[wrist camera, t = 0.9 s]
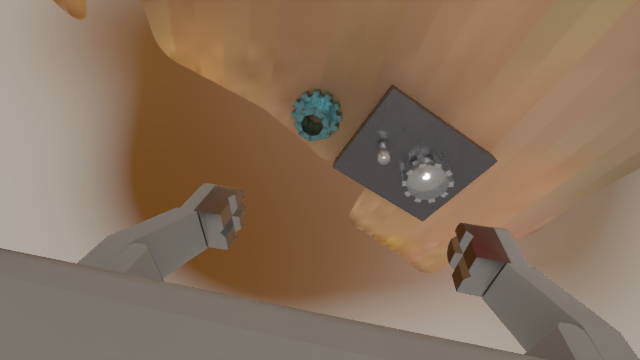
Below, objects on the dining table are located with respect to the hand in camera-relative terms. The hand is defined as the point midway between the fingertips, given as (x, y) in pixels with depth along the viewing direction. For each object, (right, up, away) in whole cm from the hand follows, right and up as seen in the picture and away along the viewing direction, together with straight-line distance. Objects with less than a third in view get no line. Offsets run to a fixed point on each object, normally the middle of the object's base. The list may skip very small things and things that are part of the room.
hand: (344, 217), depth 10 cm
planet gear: (-1, +12, +33) cm, 35 cm away
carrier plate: (+14, +5, +35) cm, 38 cm away
